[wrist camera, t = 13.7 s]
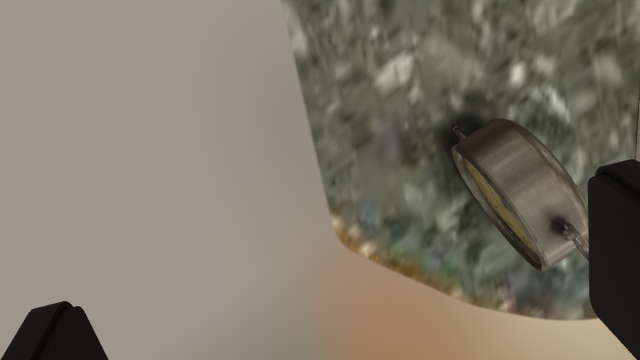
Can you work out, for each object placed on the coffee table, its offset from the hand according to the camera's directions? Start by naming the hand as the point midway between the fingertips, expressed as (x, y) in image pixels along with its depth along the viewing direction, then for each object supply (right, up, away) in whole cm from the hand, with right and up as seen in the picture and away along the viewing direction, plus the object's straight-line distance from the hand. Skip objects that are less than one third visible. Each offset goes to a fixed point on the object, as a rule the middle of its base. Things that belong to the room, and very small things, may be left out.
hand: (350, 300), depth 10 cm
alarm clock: (+13, +4, +36) cm, 39 cm away
